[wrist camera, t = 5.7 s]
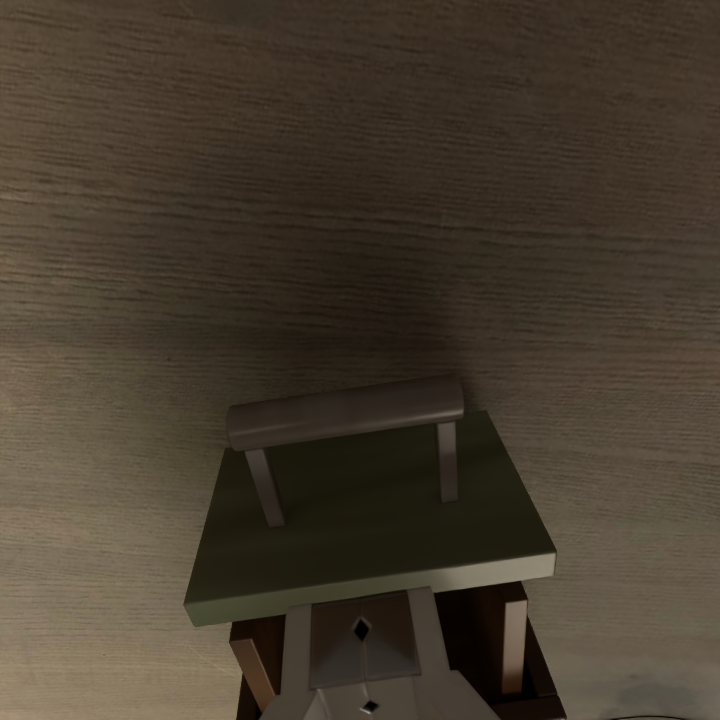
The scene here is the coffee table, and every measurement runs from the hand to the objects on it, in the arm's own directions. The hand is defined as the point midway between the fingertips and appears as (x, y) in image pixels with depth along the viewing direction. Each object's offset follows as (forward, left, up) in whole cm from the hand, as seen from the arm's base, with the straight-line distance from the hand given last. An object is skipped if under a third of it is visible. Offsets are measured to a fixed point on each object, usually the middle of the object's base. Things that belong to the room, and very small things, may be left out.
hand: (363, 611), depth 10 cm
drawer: (+5, +6, -11) cm, 13 cm away
